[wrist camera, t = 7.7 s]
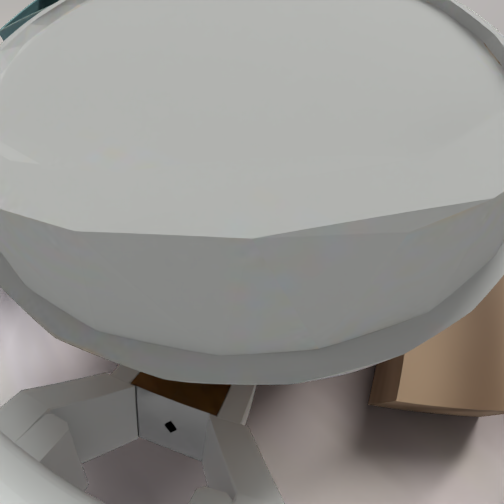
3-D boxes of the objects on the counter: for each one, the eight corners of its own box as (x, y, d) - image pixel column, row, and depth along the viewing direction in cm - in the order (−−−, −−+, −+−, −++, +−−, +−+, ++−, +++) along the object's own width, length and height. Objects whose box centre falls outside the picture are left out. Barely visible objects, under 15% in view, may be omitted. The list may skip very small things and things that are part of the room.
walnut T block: (157, 348, 13) (131, 330, 10) (259, 105, 20) (258, 68, 17) (574, 415, 9) (608, 406, 7) (554, 200, 16) (574, 178, 14)
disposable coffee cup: (146, 406, 12) (-154, 309, 1) (157, 210, 16) (72, -19, 6) (379, 391, 12) (662, 258, 1) (343, 199, 16) (403, -36, 6)
